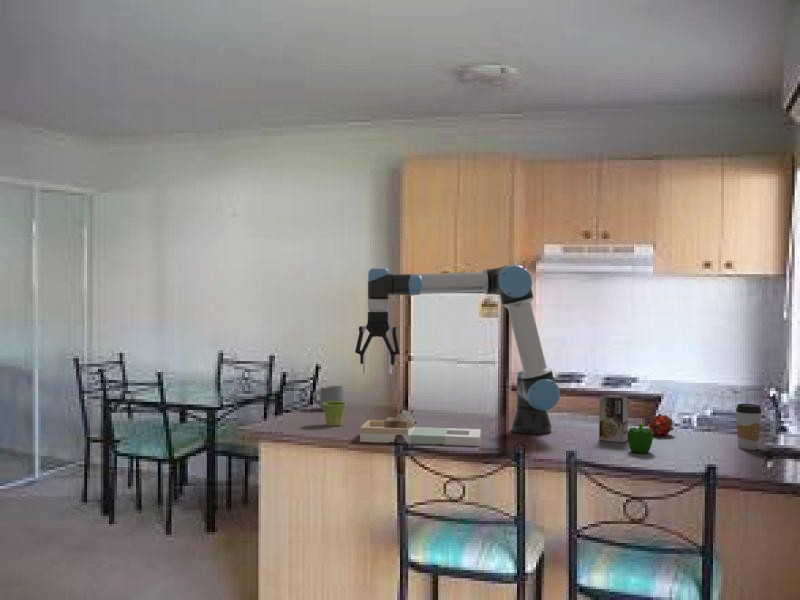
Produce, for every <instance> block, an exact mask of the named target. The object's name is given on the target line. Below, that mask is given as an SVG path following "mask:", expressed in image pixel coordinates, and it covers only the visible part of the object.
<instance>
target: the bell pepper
mask: <svg viewBox="0 0 800 600" xmlns="http://www.w3.org/2000/svg"><path fill="white" fill-rule="evenodd" d="M644 427H645V425H644V423H640V424H639V425H638V428H636V427H629V428H628V433H627V435H628V442H627V443H628V447H629V450H630V451H631V452H632V453H638V454H647V453H649V451H650V450H651V448H652V444H653V439H654V435H653V432H652V431H651V429H650V428H644Z"/></svg>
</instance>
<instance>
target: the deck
mask: <svg viewBox="0 0 800 600" xmlns="http://www.w3.org/2000/svg"><path fill="white" fill-rule="evenodd" d="M384 421H385V420H381V419H380V420H379V419H377V420H375V419H371V420H370V419H368V420H367V421H366V422H364V423H363V424H362V425H361V426H360V427H359V429H360V430H359V431H360V432H359V433H360V436H359V438H360V439H359V442H365V443H384V444H385V443H389V442H394V439H395V436H396V435H402V436H403V437H404V439H405V441H406V442H407V443H406V444H411V445H412V444H413V445H415V444H417V445H437V444H443V445H444V446H466V447H467V446H468V447H469V446H470V447H480V444H481V440H482V439H481V438H482V437H481V436H482V429H481V428H479V429H478V428H457V427H456V428H454V427H453V428H452V427H430V426H427V427H426V426H425V427H424V426H423V427H422V426H421V427H420V426H414V425H413V422H411V421H409V429H405V428H384ZM389 444H390V443H389Z"/></svg>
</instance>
